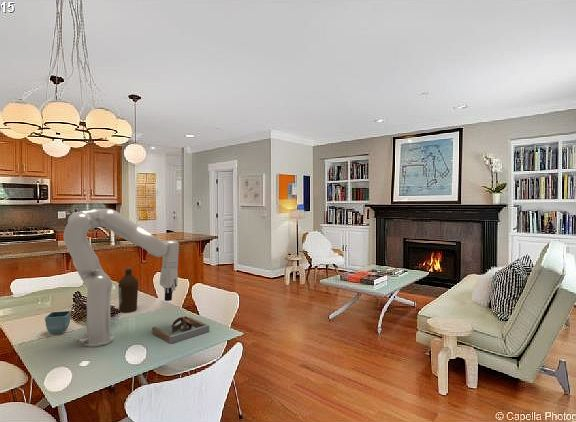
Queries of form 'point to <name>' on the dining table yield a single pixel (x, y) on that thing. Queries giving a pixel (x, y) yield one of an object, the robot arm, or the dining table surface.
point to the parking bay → (171, 339)
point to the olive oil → (128, 292)
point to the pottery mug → (181, 324)
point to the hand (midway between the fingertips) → (168, 300)
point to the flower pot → (58, 322)
